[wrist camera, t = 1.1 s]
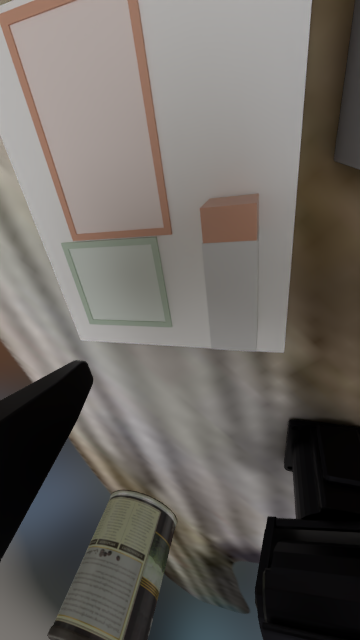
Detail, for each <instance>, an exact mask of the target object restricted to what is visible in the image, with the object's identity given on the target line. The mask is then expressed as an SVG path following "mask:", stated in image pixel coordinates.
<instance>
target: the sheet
mask: <svg viewBox="0 0 360 640" xmlns="http://www.w3.org/2000/svg"><path fill="white" fill-rule="evenodd" d="M311 5H312V0H13V1H10V2H8V3H5V4H3V5H0V136H1V138H2V141H3V144H4V146H5V149H6V151H7V154H8V156H9V159H10V161H11V164H12V166H13V169H14V171H15V174H16V177H17V179H18V182H19V184H20V187H21V189H22V192H23V194H24V197H25V199H26V202H27V205H28V207H29V210H30V212H31V215H32V217H33V220H34V222H35V225H36V227H37V230H38V232H39V235H40V238H41V240H42V243H43V245H44V248H45V250H46V253H47V255H48V258H49V260H50V263H51V265H52V268H53V271H54V273H55V276H56V278H57V281H58V283H59V286H60V288H61V291H62V293H63V296H64V298H65V301H66V304H67V306H68V309H69V311H70V314H71V316H72V319H73V321H74V324H75V326H76V329H77V332H78V334H79V337H80V339H81V341H98V342H114V343H131V344H147V345H163V346H180V347H196V348H211V338H210V327H209V317H208V306H207V295H206V285H205V274H204V263H203V253H202V242H203V239H202V228H201V217H200V207H201V206H203V205H204V204H205V203H206V202H207V201H208V200H209V199H211V198H220V197H230V196H240V195H250V194H259V226H260V236H259V300H258V335H257V350H256V351H262V352H279V353H284V348H285V335H286V322H287V310H288V297H289V284H290V272H291V259H292V246H293V234H294V221H295V208H296V196H297V183H298V170H299V157H300V145H301V132H302V119H303V107H304V94H305V81H306V69H307V56H308V43H309V31H310V18H311Z"/></svg>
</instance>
